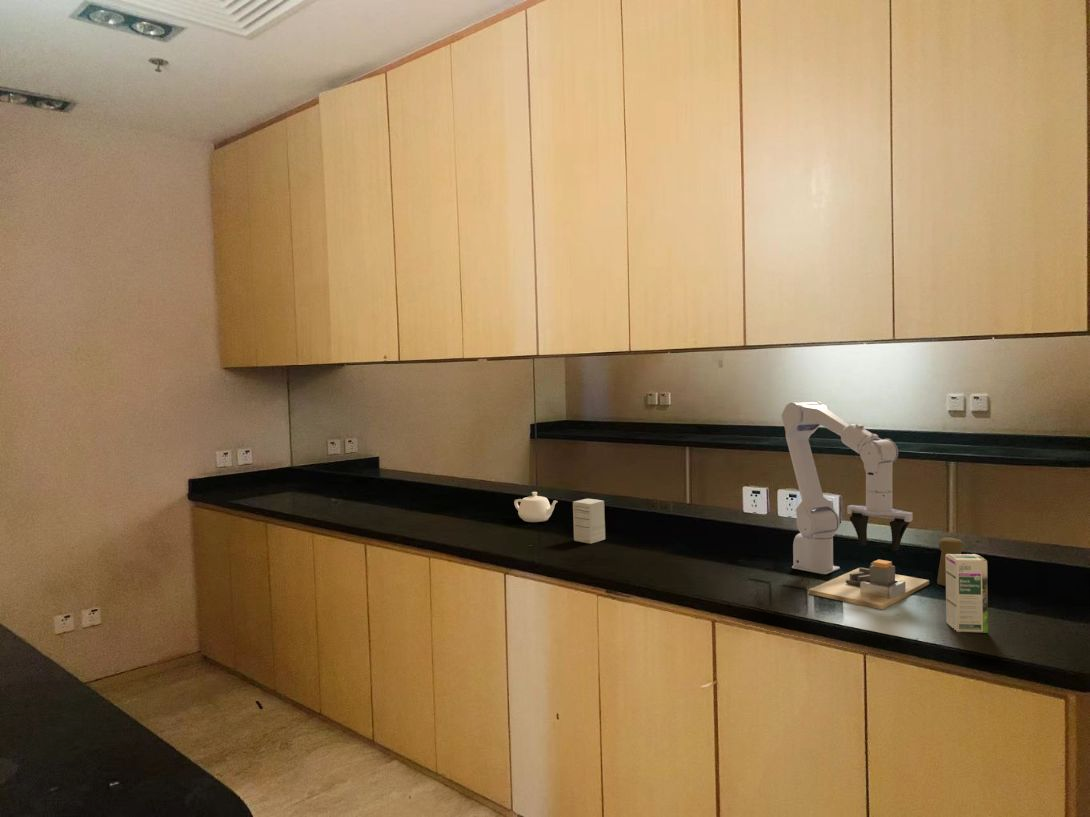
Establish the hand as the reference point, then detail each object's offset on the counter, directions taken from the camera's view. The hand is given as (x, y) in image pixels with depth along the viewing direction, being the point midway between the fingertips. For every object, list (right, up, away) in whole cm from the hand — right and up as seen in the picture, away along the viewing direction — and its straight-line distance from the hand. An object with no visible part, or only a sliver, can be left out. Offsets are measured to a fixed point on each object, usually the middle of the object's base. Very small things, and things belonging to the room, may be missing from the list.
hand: (879, 547), depth 173 cm
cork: (+19, -9, +3) cm, 21 cm away
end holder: (-2, -9, -6) cm, 11 cm away
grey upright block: (-2, -9, -6) cm, 11 cm away
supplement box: (-65, -9, +59) cm, 88 cm away
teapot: (-82, -8, +95) cm, 126 cm away
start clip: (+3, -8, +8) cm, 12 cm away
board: (-2, -10, 0) cm, 10 cm away
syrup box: (+5, -11, -27) cm, 30 cm away
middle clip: (-3, -9, +2) cm, 10 cm away
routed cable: (-2, -9, +1) cm, 9 cm away
